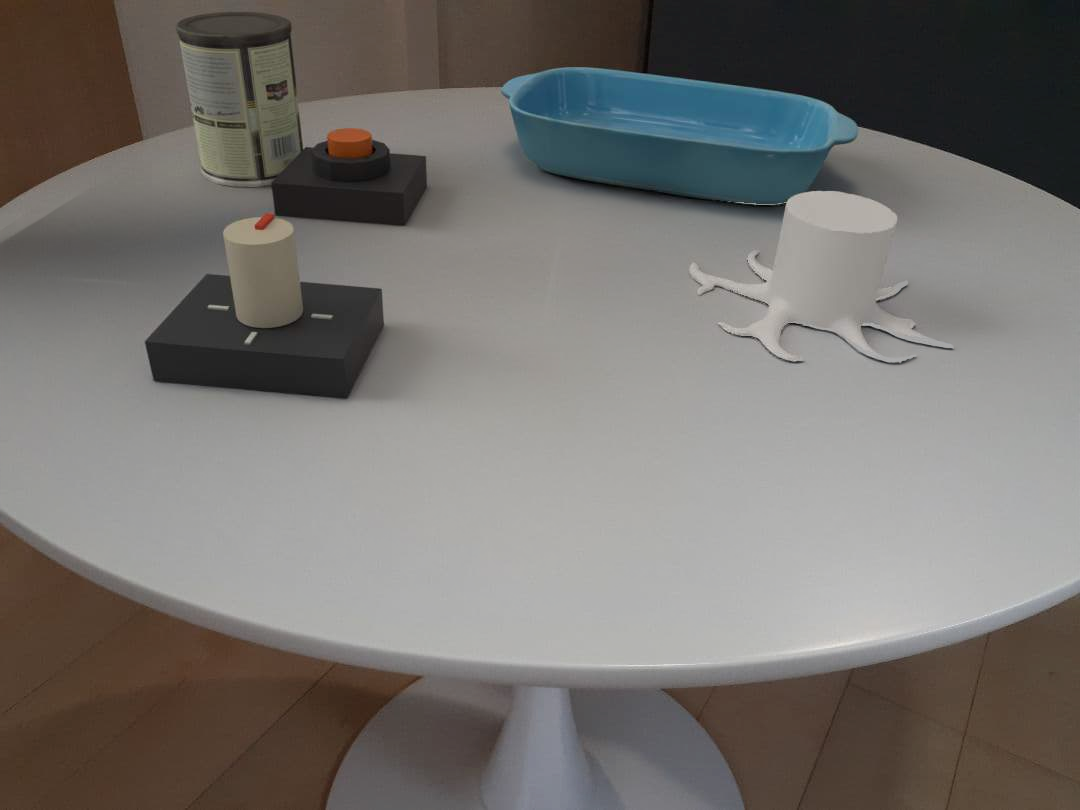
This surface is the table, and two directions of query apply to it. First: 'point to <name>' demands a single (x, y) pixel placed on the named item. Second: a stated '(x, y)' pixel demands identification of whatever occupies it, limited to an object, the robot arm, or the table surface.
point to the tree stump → (821, 270)
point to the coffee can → (242, 95)
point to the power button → (349, 143)
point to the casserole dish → (674, 133)
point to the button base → (351, 186)
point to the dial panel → (268, 341)
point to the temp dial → (264, 271)
